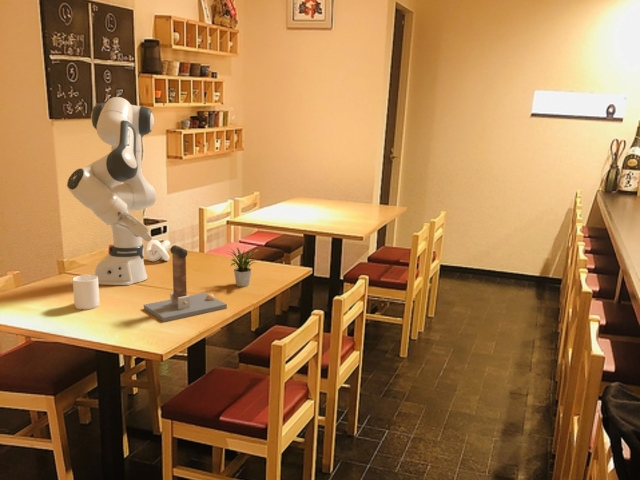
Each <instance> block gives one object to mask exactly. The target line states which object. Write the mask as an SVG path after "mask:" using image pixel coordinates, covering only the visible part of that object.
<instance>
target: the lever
mask: <svg viewBox="0 0 640 480" xmlns="http://www.w3.org/2000/svg"><path fill="white" fill-rule="evenodd" d="M169 249H170V253H171V257H172V284H173V285H172V286H173V287H172V289H173V290H172V291H173V292H172V293H173V295H174V300H175V301H177V302H178V297H183V296H188V295H187V292H188V291H187V256H188V251H187V249H185V248H183V247H180V246H179V245H176V244H175V245H172V246H170V248H169Z"/></svg>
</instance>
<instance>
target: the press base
mask: <svg viewBox="0 0 640 480" xmlns="http://www.w3.org/2000/svg"><path fill="white" fill-rule="evenodd" d="M169 296H170V297H169V298H170V299H167V300H161V301H156V302H151V303H146V304H143V309H144V310H145V311H147V312H148V313H150V314H151V315H153V317H155V318H157V319H159V320H160V321H162V323H166V322H171V321H175V320H179V319H184V318H189V317H193V316H196V315H197V316H198V315H201V314H202V315H203V314H207V313H212V312H216V311H221V310H225V309H228V305H227V303H225V302H223V301H222V300H219V299H218V298H216V296H215V295H214V294H213V293H209V294H208V293H206V292H202V293H201V292H200V293H196V294H191V295H187V296H183V297H178V302H177V301H175V300H174V295H173V292H171V293H169Z"/></svg>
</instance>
